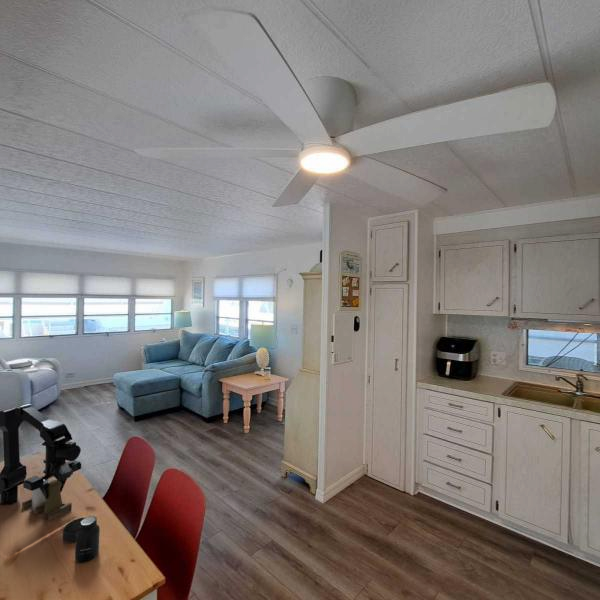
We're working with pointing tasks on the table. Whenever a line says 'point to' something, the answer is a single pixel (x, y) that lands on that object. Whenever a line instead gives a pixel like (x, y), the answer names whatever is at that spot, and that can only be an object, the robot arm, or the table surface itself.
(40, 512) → the walnut slot rack
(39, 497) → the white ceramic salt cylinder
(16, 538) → the table surface
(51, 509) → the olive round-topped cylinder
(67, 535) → the black round bowl
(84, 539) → the supplement bottle
